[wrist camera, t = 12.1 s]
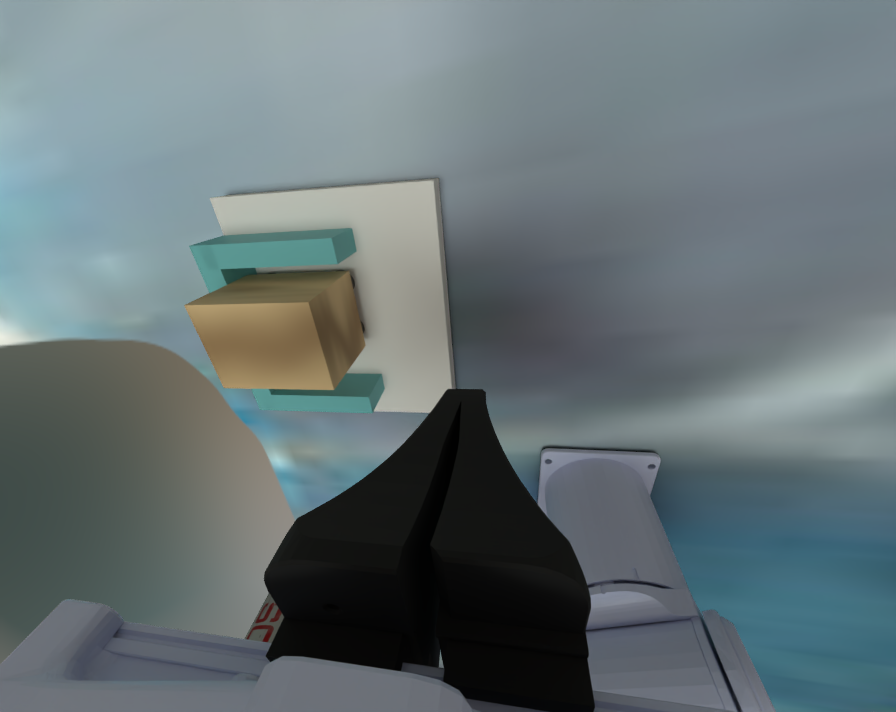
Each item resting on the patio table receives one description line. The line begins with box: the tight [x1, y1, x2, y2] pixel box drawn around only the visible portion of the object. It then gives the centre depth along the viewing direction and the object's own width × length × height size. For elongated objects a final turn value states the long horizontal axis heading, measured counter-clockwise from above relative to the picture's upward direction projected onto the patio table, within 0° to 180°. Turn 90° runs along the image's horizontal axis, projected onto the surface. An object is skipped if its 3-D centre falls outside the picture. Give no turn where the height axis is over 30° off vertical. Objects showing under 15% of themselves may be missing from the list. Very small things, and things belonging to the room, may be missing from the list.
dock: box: [189, 178, 456, 413], centre depth 21 cm, size 14×12×4 cm
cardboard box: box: [184, 270, 366, 390], centre depth 19 cm, size 4×6×5 cm
